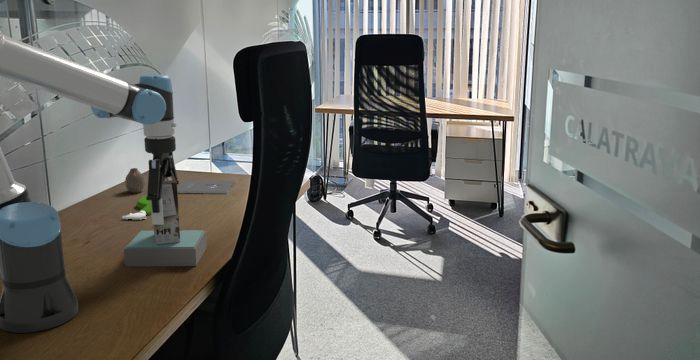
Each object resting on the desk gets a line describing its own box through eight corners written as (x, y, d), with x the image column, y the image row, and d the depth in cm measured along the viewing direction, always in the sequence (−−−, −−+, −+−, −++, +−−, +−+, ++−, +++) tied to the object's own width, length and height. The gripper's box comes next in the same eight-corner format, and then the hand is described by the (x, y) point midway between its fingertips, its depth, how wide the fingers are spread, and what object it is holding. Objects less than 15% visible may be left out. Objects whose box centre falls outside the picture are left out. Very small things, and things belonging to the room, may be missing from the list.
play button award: (184, 180, 235) (235, 180, 235) (185, 184, 235) (235, 184, 235) (173, 190, 219) (227, 191, 219) (173, 194, 219) (227, 195, 219)
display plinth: (196, 266, 152) (195, 247, 151) (125, 266, 151) (123, 248, 150) (207, 246, 165) (206, 229, 164) (141, 247, 165) (140, 230, 164)
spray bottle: (177, 200, 211) (151, 223, 188) (147, 199, 212) (117, 222, 188) (176, 192, 211) (150, 214, 187) (146, 192, 211) (117, 213, 188)
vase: (121, 193, 219) (119, 170, 217) (133, 188, 225) (131, 166, 223) (137, 194, 217) (136, 171, 215) (149, 190, 223) (147, 167, 221)
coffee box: (181, 242, 154) (177, 182, 150) (155, 245, 152) (150, 184, 148) (178, 231, 163) (174, 174, 159) (153, 234, 160) (149, 176, 156)
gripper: (161, 145, 138) (167, 231, 144) (185, 128, 163) (190, 202, 168) (128, 145, 138) (135, 231, 143) (158, 128, 162) (163, 202, 167)
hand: (165, 216), depth 156 cm, fingers open, 13 cm apart
